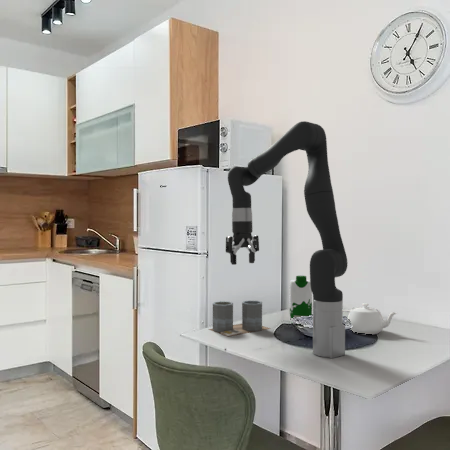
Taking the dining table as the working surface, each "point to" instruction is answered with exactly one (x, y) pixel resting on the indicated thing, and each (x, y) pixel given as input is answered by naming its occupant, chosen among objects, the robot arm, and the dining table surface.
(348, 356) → the dining table surface
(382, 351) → the dining table surface
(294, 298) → the milk carton
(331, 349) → the robot arm
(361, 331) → the teapot
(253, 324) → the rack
